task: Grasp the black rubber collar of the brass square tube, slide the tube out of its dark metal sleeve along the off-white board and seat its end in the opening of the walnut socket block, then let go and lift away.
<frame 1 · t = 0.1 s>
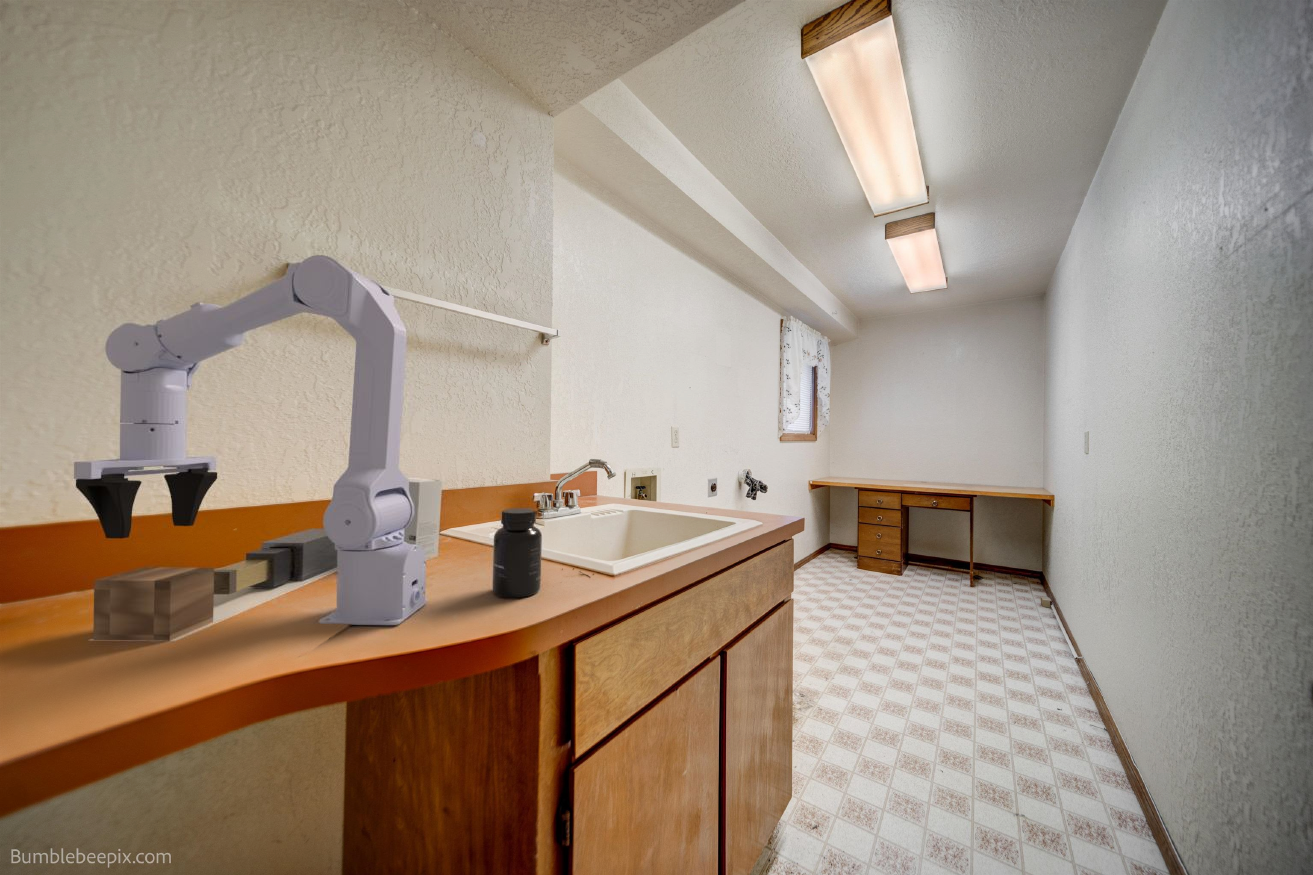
hand: (152, 531, 59), 10 cm above the worktop, tool pointing down, fingers open, 7 cm apart
skincare box: (410, 560, 85), on the worktop
socket: (156, 630, 52), resting on board
supplement bottle: (516, 593, 69), on the worktop
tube: (276, 564, 69), point 3 cm above the worktop, slide at 0.0 cm
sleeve: (307, 571, 76), resting on board
board: (253, 595, 65), on the worktop
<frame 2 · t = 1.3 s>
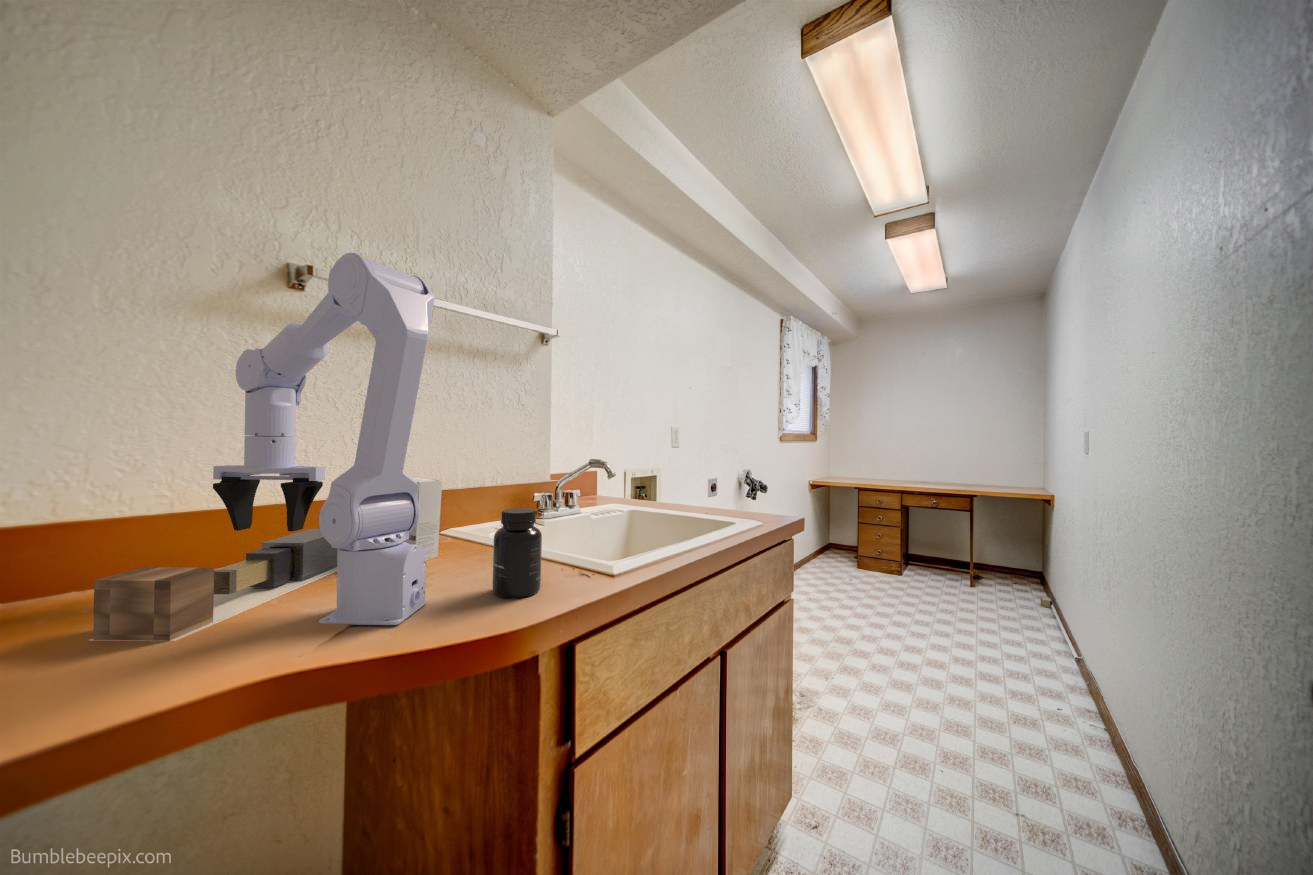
hand: (269, 529, 68), 9 cm above the worktop, tool pointing down, fingers open, 7 cm apart
nothing on the worktop moved.
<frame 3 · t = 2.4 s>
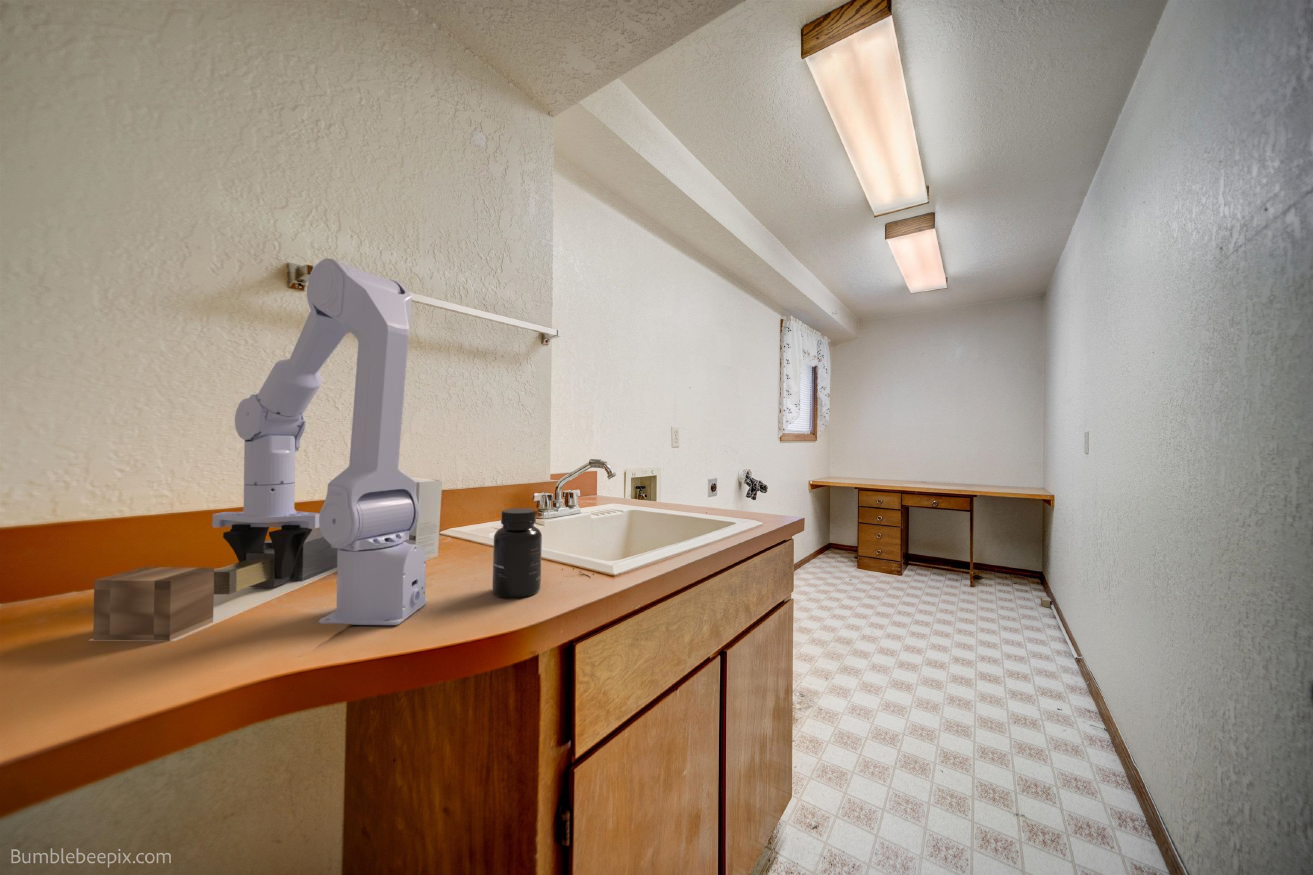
hand: (268, 576, 68), 2 cm above the worktop, tool pointing down, fingers closed on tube, 4 cm apart
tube: (276, 564, 69), point 3 cm above the worktop, slide at 0.0 cm, touching gripper
everything else where it was.
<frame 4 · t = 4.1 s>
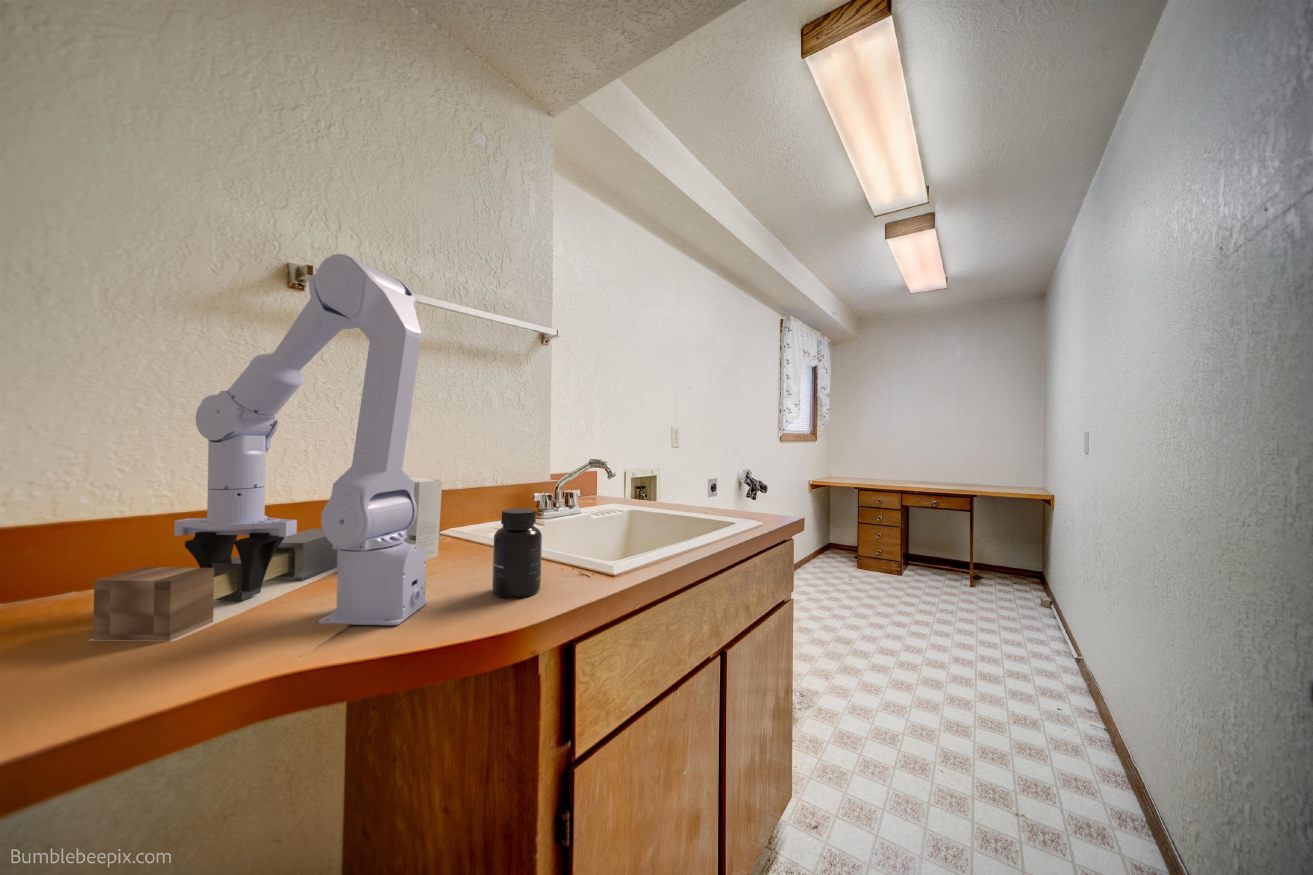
hand: (235, 589, 62), 2 cm above the worktop, tool pointing down, fingers closed on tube, 4 cm apart
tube: (246, 575, 64), point 3 cm above the worktop, slide at 5.3 cm, touching gripper
everything else where it was.
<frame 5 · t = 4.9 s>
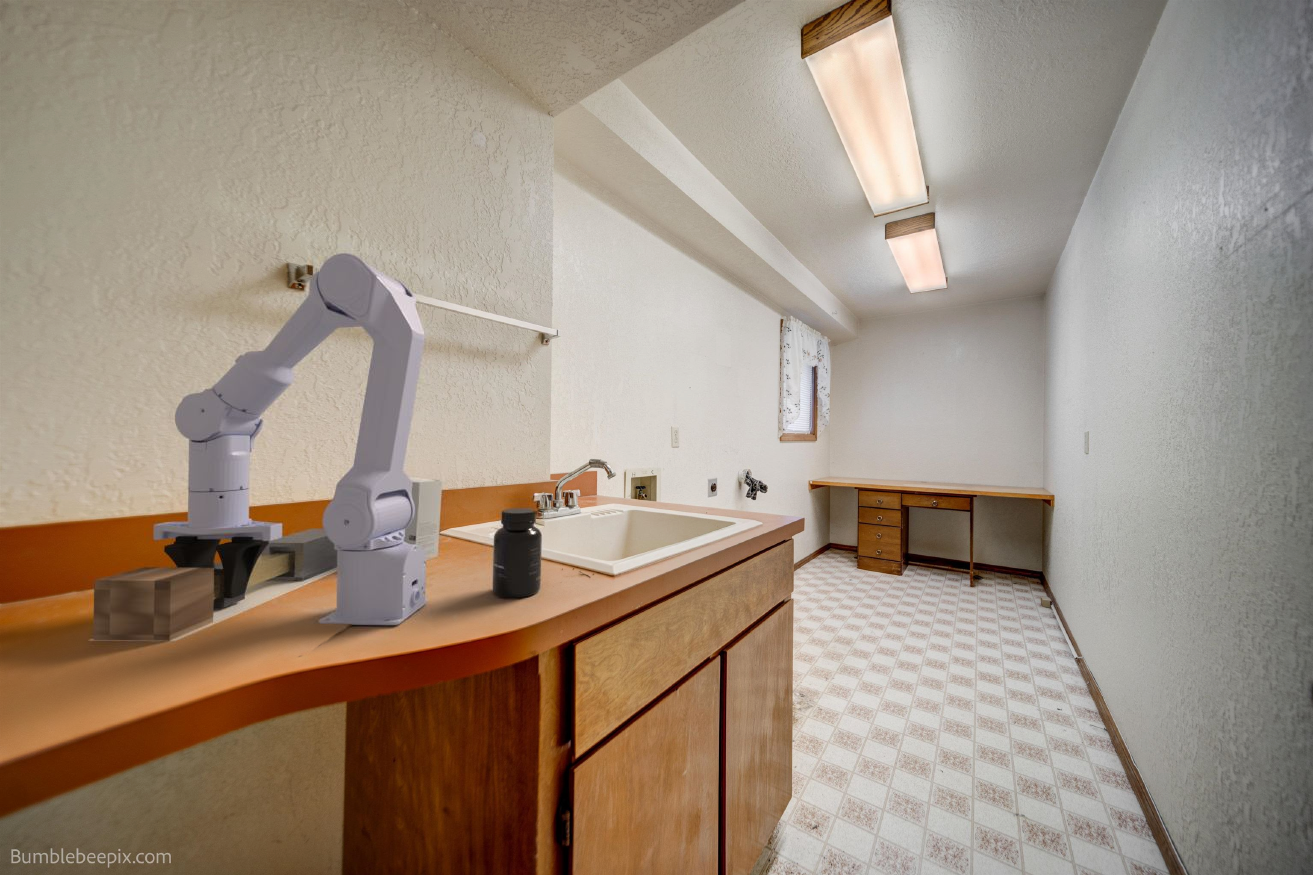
hand: (218, 595, 60), 2 cm above the worktop, tool pointing down, fingers closed on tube, 4 cm apart
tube: (229, 580, 62), point 3 cm above the worktop, slide at 7.8 cm, touching gripper
everything else where it was.
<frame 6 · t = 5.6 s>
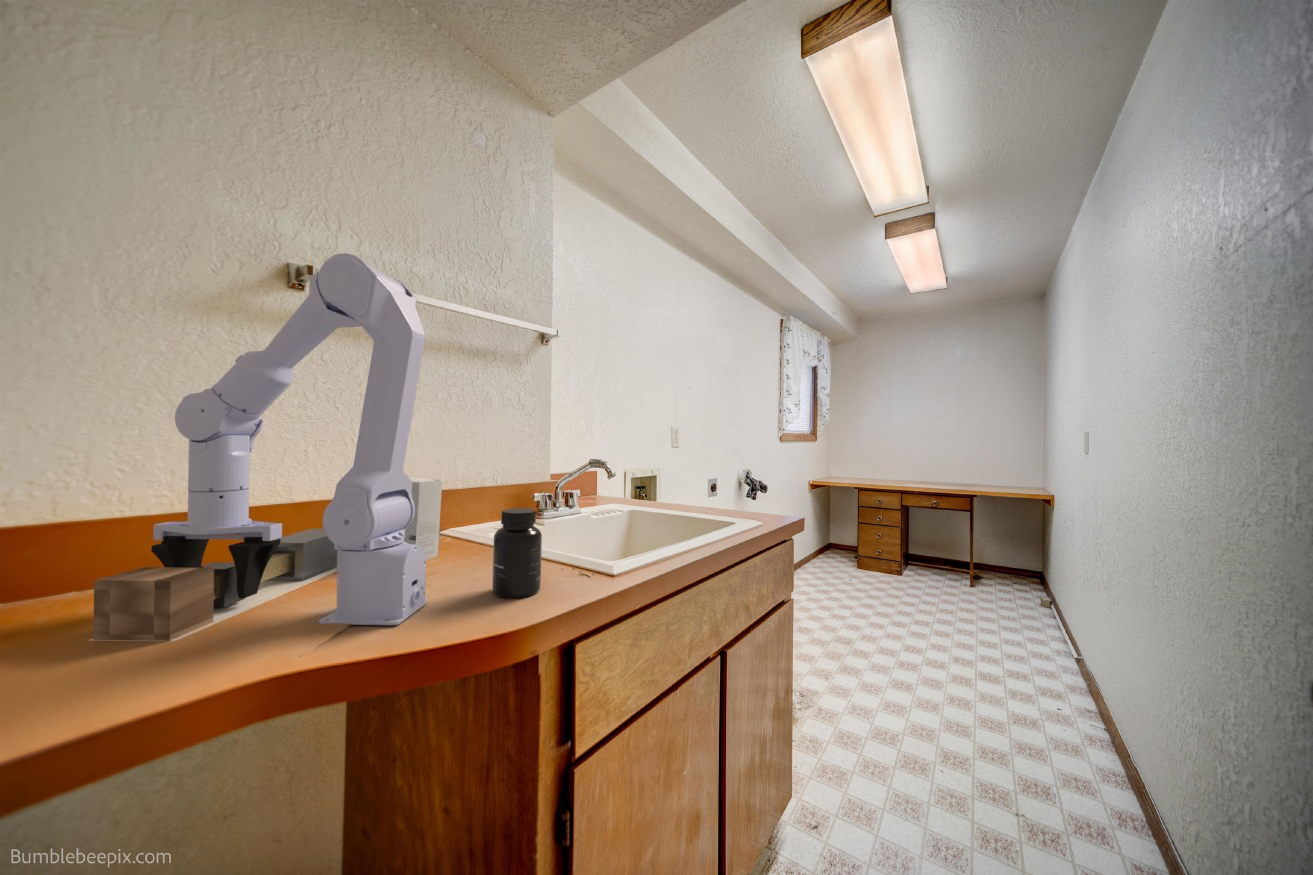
hand: (217, 595, 60), 2 cm above the worktop, tool pointing down, fingers open, 7 cm apart
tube: (229, 580, 62), point 3 cm above the worktop, slide at 7.8 cm
everything else where it was.
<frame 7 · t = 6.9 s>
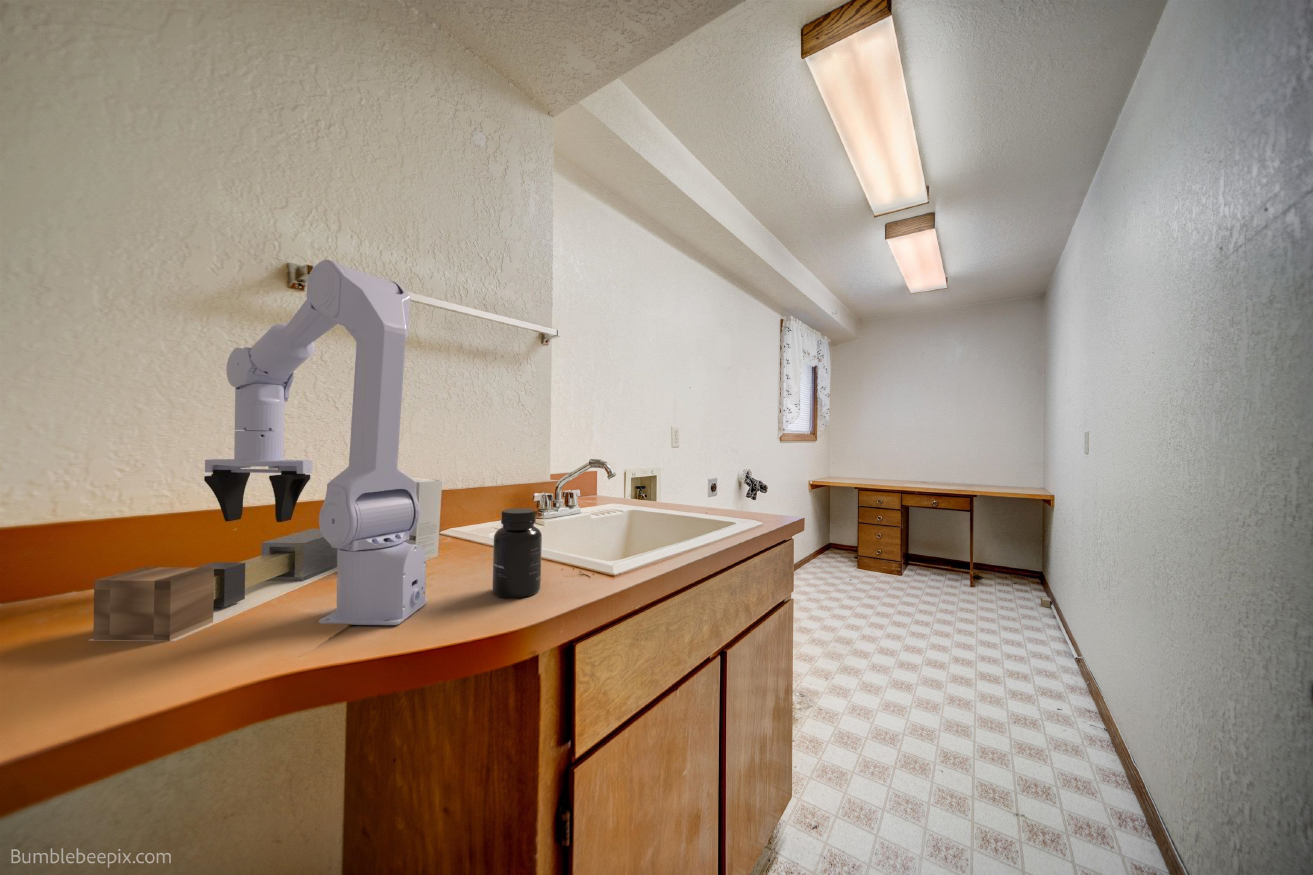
hand: (258, 520, 71), 9 cm above the worktop, tool pointing down, fingers open, 7 cm apart
nothing on the worktop moved.
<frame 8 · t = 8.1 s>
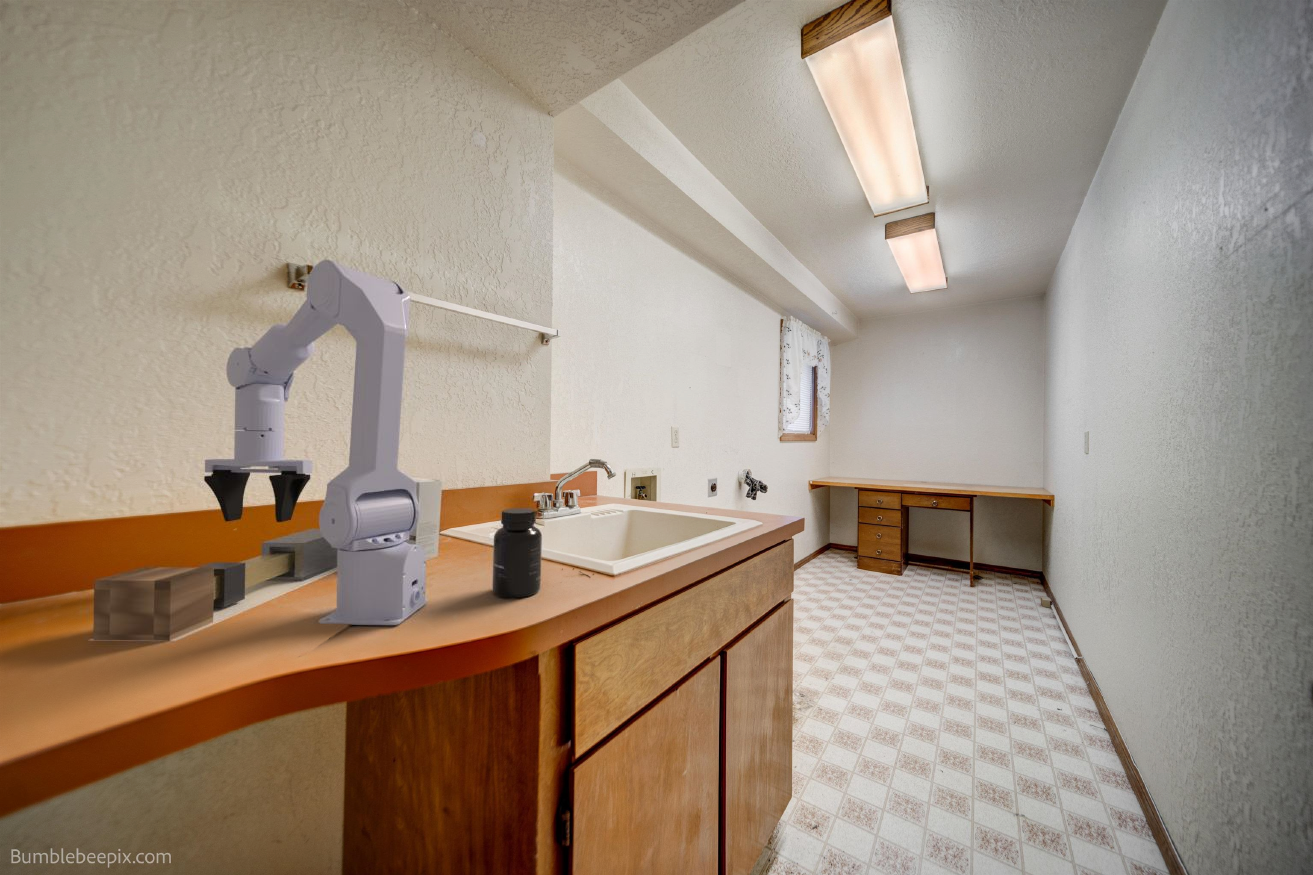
hand: (258, 520, 71), 9 cm above the worktop, tool pointing down, fingers open, 7 cm apart
nothing on the worktop moved.
at the end: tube slide at 7.8 cm; the gripper is holding nothing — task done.
